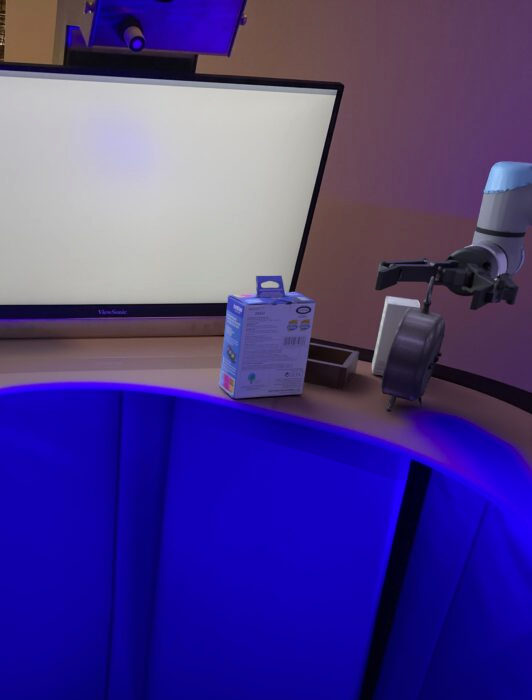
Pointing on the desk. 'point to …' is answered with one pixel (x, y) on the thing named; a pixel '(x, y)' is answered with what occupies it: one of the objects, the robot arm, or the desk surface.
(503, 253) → the robot arm
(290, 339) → the ink cartridge box
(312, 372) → the holder
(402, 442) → the desk surface
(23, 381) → the desk surface
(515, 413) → the desk surface
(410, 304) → the white box
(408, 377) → the alarm clock
